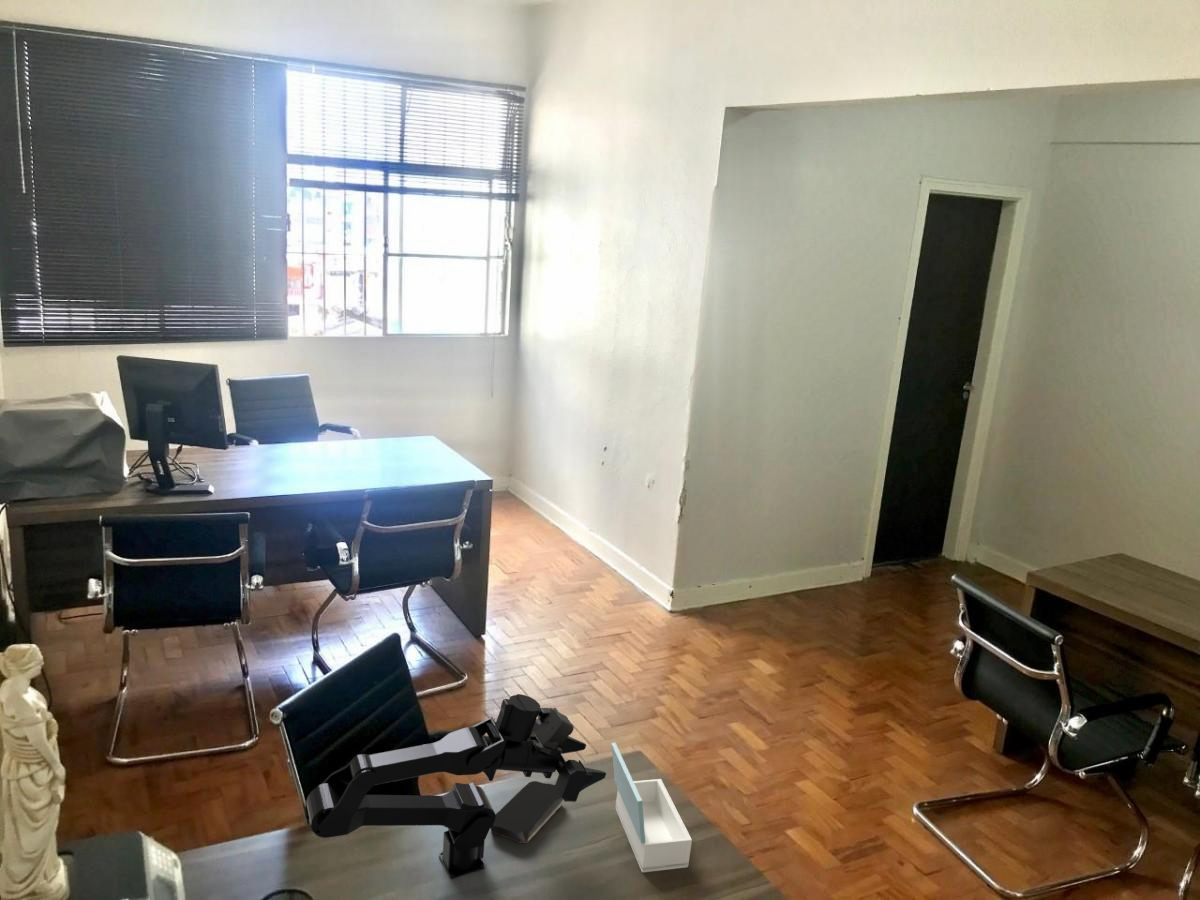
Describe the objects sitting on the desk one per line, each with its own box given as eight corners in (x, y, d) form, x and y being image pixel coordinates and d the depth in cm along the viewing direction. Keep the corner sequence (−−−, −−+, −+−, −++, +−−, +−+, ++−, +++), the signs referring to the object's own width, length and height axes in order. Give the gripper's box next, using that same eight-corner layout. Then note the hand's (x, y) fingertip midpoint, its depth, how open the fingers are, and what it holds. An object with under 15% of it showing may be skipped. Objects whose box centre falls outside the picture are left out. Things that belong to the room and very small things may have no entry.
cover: (645, 842, 161) (641, 843, 161) (618, 781, 178) (614, 782, 178) (642, 800, 158) (637, 801, 158) (615, 742, 175) (611, 743, 175)
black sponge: (523, 852, 166) (524, 835, 165) (485, 835, 169) (486, 818, 168) (566, 805, 180) (568, 789, 179) (530, 790, 183) (532, 774, 182)
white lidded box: (642, 872, 163) (645, 844, 161) (615, 808, 180) (618, 782, 178) (688, 867, 165) (691, 839, 164) (657, 804, 182) (660, 778, 180)
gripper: (554, 744, 151) (631, 751, 158) (518, 687, 167) (589, 696, 174) (533, 801, 152) (610, 806, 160) (499, 740, 169) (570, 746, 176)
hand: (595, 760), depth 167 cm, fingers open, 9 cm apart
